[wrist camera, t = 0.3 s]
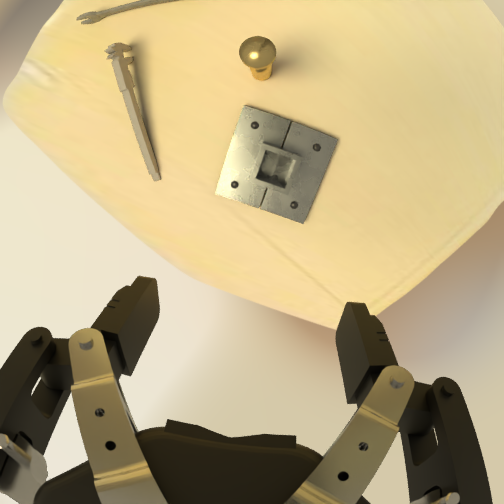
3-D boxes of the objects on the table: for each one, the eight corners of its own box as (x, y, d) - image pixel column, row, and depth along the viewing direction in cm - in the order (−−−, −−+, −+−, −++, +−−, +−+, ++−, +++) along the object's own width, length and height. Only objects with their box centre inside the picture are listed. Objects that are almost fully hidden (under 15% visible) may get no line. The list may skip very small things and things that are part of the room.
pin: (253, 57, 29) (245, 32, 19) (278, 64, 29) (280, 42, 20) (245, 79, 30) (234, 62, 21) (270, 86, 31) (269, 71, 21)
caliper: (125, 49, 29) (102, 41, 23) (132, 47, 29) (109, 38, 23) (155, 180, 37) (136, 192, 32) (162, 179, 37) (143, 190, 31)
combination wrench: (207, -18, 22) (73, 14, 22) (207, -11, 22) (71, 21, 23) (212, -7, 25) (86, 20, 26) (212, 0, 26) (85, 26, 26)
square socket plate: (244, 105, 32) (240, 103, 28) (336, 139, 33) (343, 141, 29) (216, 192, 37) (210, 200, 34) (302, 221, 38) (305, 232, 35)
